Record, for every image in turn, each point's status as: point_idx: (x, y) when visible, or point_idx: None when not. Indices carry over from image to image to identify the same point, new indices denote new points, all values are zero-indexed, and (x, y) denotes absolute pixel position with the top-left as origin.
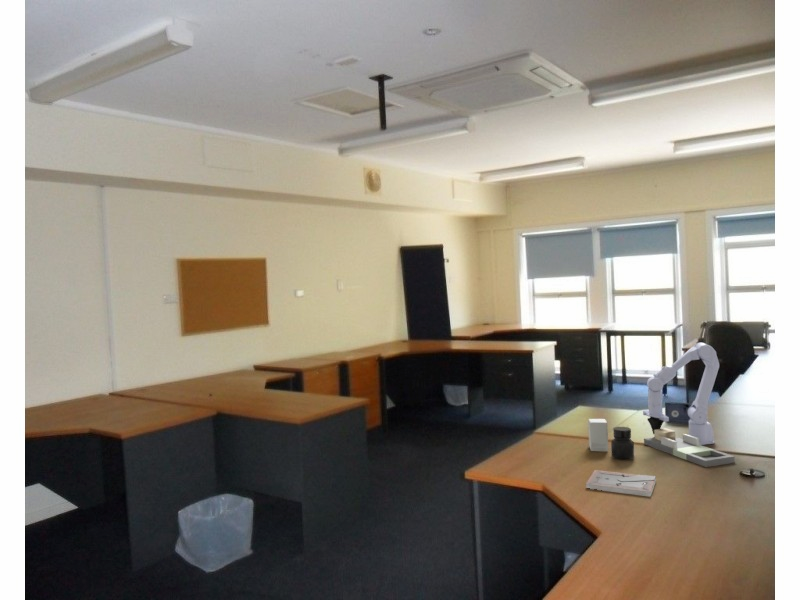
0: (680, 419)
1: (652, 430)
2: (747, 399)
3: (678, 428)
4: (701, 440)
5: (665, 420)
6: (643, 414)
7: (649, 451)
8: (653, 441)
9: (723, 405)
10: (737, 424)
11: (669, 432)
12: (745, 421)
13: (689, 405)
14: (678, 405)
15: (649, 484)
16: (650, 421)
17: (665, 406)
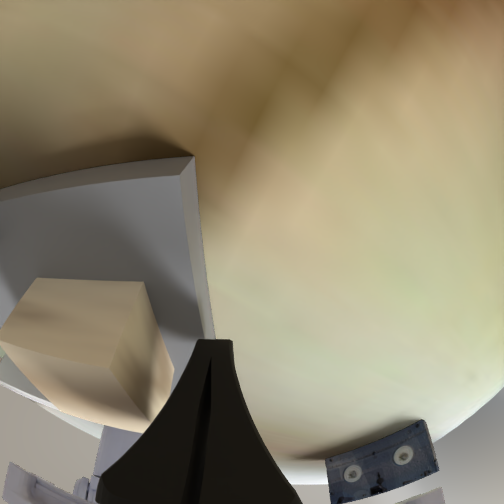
0: (385, 447)
1: (227, 370)
2: None
3: (355, 431)
4: None
5: (9, 473)
6: (437, 496)
7: (5, 92)
8: (47, 205)
9: None
10: (286, 474)
11: (30, 377)
12: (294, 478)
13: (369, 493)
14: (398, 482)
15: None
16: (216, 486)
17: (434, 460)
